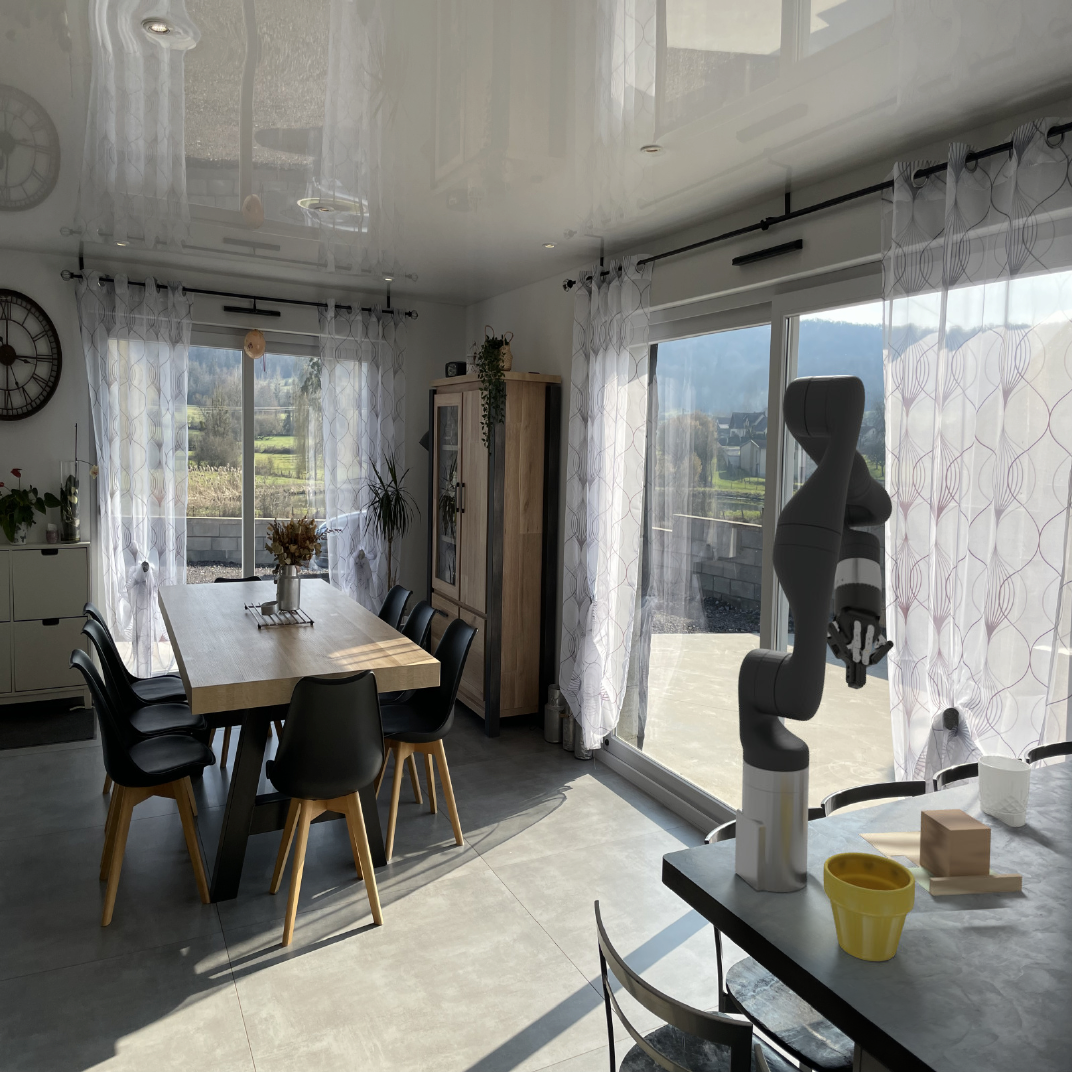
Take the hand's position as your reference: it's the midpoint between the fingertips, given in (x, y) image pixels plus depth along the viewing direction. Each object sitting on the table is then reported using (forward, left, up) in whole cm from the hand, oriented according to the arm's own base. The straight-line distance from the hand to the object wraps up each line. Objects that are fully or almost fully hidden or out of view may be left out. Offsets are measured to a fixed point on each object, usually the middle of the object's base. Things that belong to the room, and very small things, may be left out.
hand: (855, 687), depth 131 cm
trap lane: (+4, -14, -25) cm, 28 cm away
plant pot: (-20, -28, -25) cm, 43 cm away
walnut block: (+3, -18, -23) cm, 30 cm away
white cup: (+29, -1, -25) cm, 38 cm away
